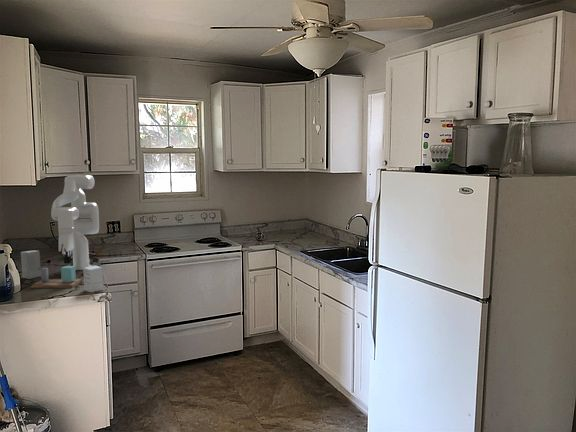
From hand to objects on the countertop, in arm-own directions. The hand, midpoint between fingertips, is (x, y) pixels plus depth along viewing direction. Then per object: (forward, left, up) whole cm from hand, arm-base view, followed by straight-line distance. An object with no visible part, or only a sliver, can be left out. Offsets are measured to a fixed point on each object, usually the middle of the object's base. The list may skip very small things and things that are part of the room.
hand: (67, 263), depth 265 cm
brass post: (0, 0, -11) cm, 11 cm away
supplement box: (+12, +18, -13) cm, 25 cm away
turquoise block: (0, 0, -10) cm, 10 cm away
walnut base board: (0, -7, -13) cm, 14 cm away
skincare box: (-18, -29, -13) cm, 37 cm away
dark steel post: (0, -13, -11) cm, 17 cm away
